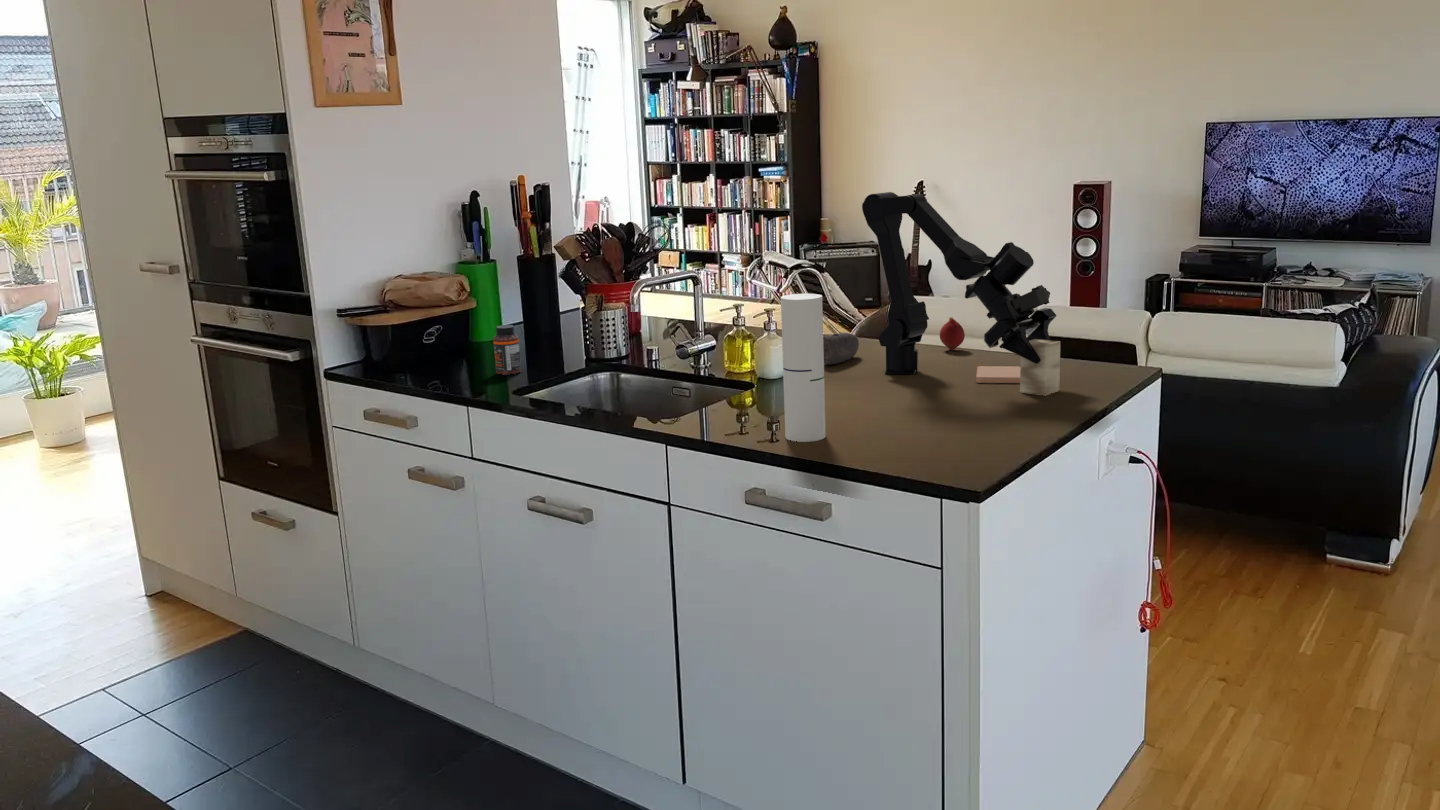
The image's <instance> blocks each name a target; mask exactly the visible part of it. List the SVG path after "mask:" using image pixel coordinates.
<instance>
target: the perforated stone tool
mask: <svg viewBox="0 0 1440 810" xmlns="http://www.w3.org/2000/svg"><path fill="white" fill-rule="evenodd" d="M859 346H860V343H859V339H858V337H857V336H856V335H855V334H852V333H849V332H840V333H833V334H830V335H828V334H827V335H823V348H824V365H829V366H830V365H838V364H841V362H842V363H844V362H847V361H849V360H851V359H852V358H853V357H855V356H856V354H857V352H858V350H859ZM846 360H847V361H846Z"/></svg>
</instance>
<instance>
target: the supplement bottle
mask: <svg viewBox="0 0 1440 810" xmlns="http://www.w3.org/2000/svg"><path fill="white" fill-rule="evenodd" d="M495 329H496V335H494V337H493V339H492V340H493V343H492V344H493V350H494V351H493V353H494V364H495V371H496V372H495V373H496V374H497V375H499V374H502V375H501V376H511V375H510V374H514V375H517V374H516V373H518V374H520V373H521V371H522V361H521V351H520V350H521V349H520V342H519V341H520V339H519V336H518V334H516V333H515V332H514V331H515V330H514V329H515V328H514V325H511V324H502V325H497V326H496V328H495ZM519 372H520V373H519Z"/></svg>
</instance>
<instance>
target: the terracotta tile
mask: <svg viewBox="0 0 1440 810" xmlns="http://www.w3.org/2000/svg"><path fill="white" fill-rule="evenodd" d="M975 383H977V384H1020V366H1018V365H1017V366H1011V365H1009V366H1007V365H1006V366H1004V365H1003V366H1001V365H997V366H995V365H993V366H987V365H986V366H985V365H984V366H981V365H979V366H977V369H976V378H975Z"/></svg>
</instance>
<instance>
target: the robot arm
mask: <svg viewBox="0 0 1440 810" xmlns="http://www.w3.org/2000/svg"><path fill="white" fill-rule="evenodd" d="M861 209H862V210H861V211H862V214H863V217H864V219H865V222H866V224H867V226H868V228H870V230H871V231H872V232H873V234H874V235H875V236H876V239H877V243H878V248H879V253H880V257H881V263H882V266H883V272H884V276H885V282H886V285H887V291H888V293H889V294H888V295H889V298H890V303H889V306H888V311H887V314H886V315H887V327H886V328H885V329H883V331H882V332H881V333H880V334H879V335H878V341H879V345H880V346H881V347H885V370H884V374H885V375H914V374H916V371H917V370H918V369H919V350H918V349H916V343H920V342H921V341H922V337H923V335H924V333H925V332H926V330H927V328H928V320H930V318H929V316H928V313H927V308H926V307H927V306H926V302H925V301H918V300H917V299H916V297H915V296H914V293H913V288H912V285H911V280H910V275H909V270H908V265H907V263H906V262H907V261H906V257H905V253H904V249H903V248H904V247H903V243H902V238H901V234H900V233H901V232H900V228H901V225H902V220H903V215H904V214H907V216H909V218H910V219H911V220H912V221H913V222H914V223H915V224H916V225H917V227H918V228H920V230H921V231H922V232H923V233H924V234H925V235H926V236H927V237H928V238H929V240H930V241H931V242H932V243H933V244H934V245H935V246H936V247H937V249H939V250H940V252H941V254H942V255H943V258H944V263H945V265H946V267H947V268H948V270H949V271H950V273H951V274H952V275H953V277H954V278H955V279H956V280H958V281H968V280H972V279H973V280H974V279H976V280H975V281H974V283H970V284H966V286H965V293H964V298H965V299H967V300H968V299H971V298H976V297H977V299H978V300H979V301H980V302H981V303H982V305H983V306H984V307H985V309H986V310H987V311H988V313H986V317H987V318H988V319H989V320H990V319H994V320H995V321H996V322H995V323H994V324H993V325H992V326H991V327H990V328H989V329H987V331H986V332H985V333H984V334H983V335H984V336H983V342H984V343H985V344H986V345H987V346H988V348H989V349H991V348H996V347H999V348H1000V349H1003V350H1006V351H1008V352H1011V353H1013V354H1015V355H1017V356H1019V357H1020V358H1021V357H1023V358H1025V359H1028V360H1030V361H1032V362H1034V363H1036V364H1038V363H1039V362H1040V361H1041V360H1040V358H1039V356H1038V354H1037V353H1036V351H1035V350H1034V348H1033V347H1032V345H1031V344H1030V342H1029V341H1030V340H1033V339H1042V340H1051V337H1050V334H1049V326H1050V324H1051V322H1053V321H1054V320H1055V318H1056V317H1057V314H1056V313H1055V311H1053V309H1052V308H1048V307H1045V308H1041V309H1036V308H1039V307H1040V306H1041V307H1042V306H1043V305H1048V304H1050V300H1049V299H1050V295H1051V292H1050V291H1049V290H1047V288H1046V287H1044V285H1042V284H1041V285H1037V286H1036V287H1033V288H1031V291H1029V292H1027V293H1024V294H1022V295H1020V293H1012V292H1011V290H1010V289H1009V288H1008V287H1007V286H1014V285H1015V284H1017V282H1018V281H1019V280H1020V279H1021V278H1022V277H1024V275H1025V274H1026V273H1027V272H1028V271H1029V270H1030V269H1031V268H1032V267H1033V266H1034V262H1035V261H1034V259H1033V257H1032V256H1031V254H1030V253H1029V252H1028V251H1026V250H1024V249H1023V248H1021V247H1019V246H1017V245H1016V244H1014V242H1011V241H1010V242H1005V244H1004V245H1003V246H1002V247H1001V249H1000V250H999V252H997V254H996V255H994V256H991V255H990V256H989V255H988V254H987V253H986V252H985V251H984V250H982V249H981V248H980V247H979V246H977V245H976V244H975V243H972V242H970V241H968V240H966V239H964V238H963V237H961V236H960V235H959V234H958V233H957V232H956V231H955V229H953V227H952V226H951V225H950V224H949V223H948V222H947V221H946V220H945V218H944V217H942V216H941V214H940V213H939V212H938V211H937V210H936V209H935V208H934V207H933V206H932V205H931V204H930V202H928V199H927V198H926V196H924V195H923V194H922V193H921V194H920V193H916V194H915V193H913V194H908V195H898V194H896V193H895V192H892V191H888V192H877V193H871V194H869V195H867V196H866V197H865V198H864V201H863V202H862V203H861ZM1035 309H1036V310H1035ZM1000 339H1001V340H1000ZM999 341H1002V343H1001V344H999V343H1000V342H999Z"/></svg>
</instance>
